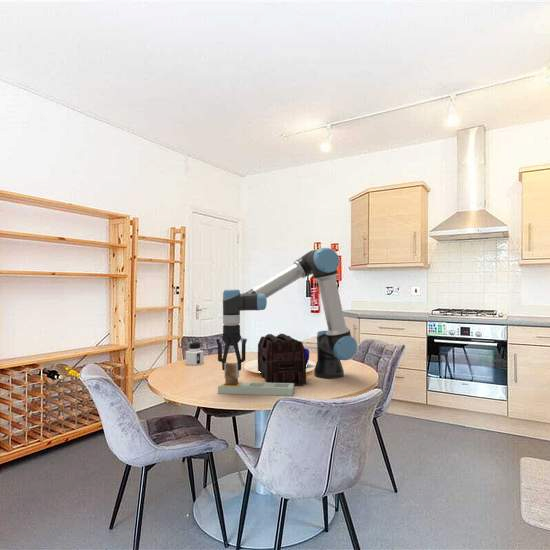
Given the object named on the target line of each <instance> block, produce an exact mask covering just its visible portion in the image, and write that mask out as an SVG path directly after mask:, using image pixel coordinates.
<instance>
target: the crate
mask: <svg viewBox="0 0 550 550" xmlns="http://www.w3.org/2000/svg"><path fill="white" fill-rule="evenodd" d="M302 343H303V342H302V341H301V340H298V339H295V338H293V337H292V336H290V335H287V334H285V333H279V334H277V336H276V335H274V334H272V333H267V334H266V335H265V336H261V337H260V338H259V341H258V344H257V372H258V371H260V372H261V374H259V375H260V376H261V377H262V378H263V379H264V381H265V383H294V387H303V386H304V385H306V384H307V368H306V351H305V346H304V344H302Z"/></svg>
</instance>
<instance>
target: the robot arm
mask: <svg viewBox="0 0 550 550" xmlns="http://www.w3.org/2000/svg"><path fill="white" fill-rule="evenodd" d="M339 264H340V258H339V255H338V253H337V252H336V251H335V250H333V249H332V248H329V247H321V248H317V249H313V250H310V251H308V252H307V253H305V254H304V255H302V256H300V257H299V258H298V259H296V260H294V261H293V264H291V266H289V267H287V268H285V269H283V270H281V271H279V272H278V273H277V274H274V275H273V276H271V277H270V278H268V279H266V280H264V281H262V282H261V283H260V284H258V285H256V286H254V287H253V288H251V289H249V290H248V291H246V292H243V293H241V291H240V289H224V290H223V292H222V324H223V326H222V336H221V337H220V338H219V337H218V338H217V339H216V341H215V342H216V344H217V362H219V363H221V365H222V366H221V367H222V368H221V369H222V371H224V373H223V374H224V379H225V365H226V364H228V363H229V362H228V361H227V356H228V353H229V349H230V346H232V347H233V349H234V352H235V356H236V361H237V362H235V363H236V379H238V380H239V378H240V371H241V370H242V363H244V362H246V350H247V349H246V344H247V341H248V339H247V338H244V337H242V336H241V325H240V324H241V311H258V312H259V311H264V310H265V309H266V308H267V304H268V302H267V298H270V296H273V295H274V294H276V293H278V292H279V291H281V290H283V289H284V288H286V287H287V286H289V285H291V284H293V283H294V282H296V281H298V280H299V279H301V278H302V279H305V278H306V277H308V276H310V275H312V276H313V279H314V280H315V281H317V283H318V288H319V292H320V299H321V302H322V307H323V312H324V316H325V320H326V325H327V330H319V331H317V332H316V352H317V355H316V359H317V360H316V364H315V367H314V371H313V375H314V376H315V377H316V378H322V379H339V378H340V379H341V378H343V377H344V376H345V370H344V368H343V364H342V362H341V361H348V360H351V359H353V358H354V356H355V355H356V353H357V350H358V344H357V343H358V342H357V340H356V338H354V337H353V336H352V333H351V329H350V328H349V327H347V326H346V325H347V324H346V320H345V317H344V316H345V315H344V312H343V311H344V310H343V307H342V303H341V302H342V301H341V297H340V292H339V287H338V283H337V279H336V277H337V276H338V274H339V272H338V267H339ZM223 342H224V351H223V344H222V343H223ZM239 342H240V343H241V353H240V348H239Z"/></svg>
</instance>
